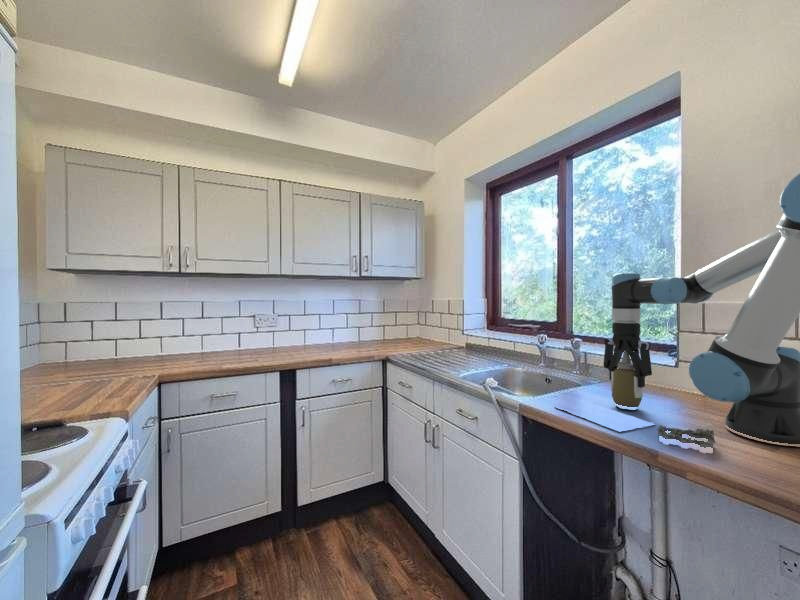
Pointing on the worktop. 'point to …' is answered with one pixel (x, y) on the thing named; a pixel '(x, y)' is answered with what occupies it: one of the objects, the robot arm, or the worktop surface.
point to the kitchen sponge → (699, 433)
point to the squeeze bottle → (625, 383)
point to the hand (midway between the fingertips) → (626, 394)
